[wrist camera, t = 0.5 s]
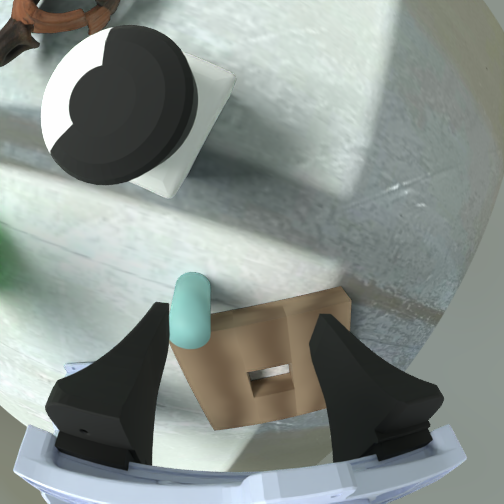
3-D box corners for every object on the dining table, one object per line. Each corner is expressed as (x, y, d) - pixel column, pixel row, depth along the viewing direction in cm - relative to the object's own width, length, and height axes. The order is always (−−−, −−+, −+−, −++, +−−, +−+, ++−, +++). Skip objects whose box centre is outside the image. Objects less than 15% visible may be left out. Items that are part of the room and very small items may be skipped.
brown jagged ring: (75, -39, 10) (88, -82, 4) (132, 8, 17) (162, -23, 11) (-21, 54, 10) (-48, 37, 4) (40, 102, 17) (30, 99, 11)
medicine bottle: (231, 93, 18) (252, 46, 7) (185, 179, 20) (150, 238, 9) (145, 57, 16) (76, -7, 5) (103, 142, 18) (0, 166, 7)
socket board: (213, 414, 32) (214, 430, 29) (170, 320, 25) (167, 338, 23) (336, 388, 32) (342, 403, 30) (340, 286, 26) (351, 300, 23)
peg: (181, 305, 24) (174, 351, 19) (171, 275, 23) (160, 319, 18) (214, 299, 25) (215, 345, 19) (205, 269, 23) (204, 312, 18)
